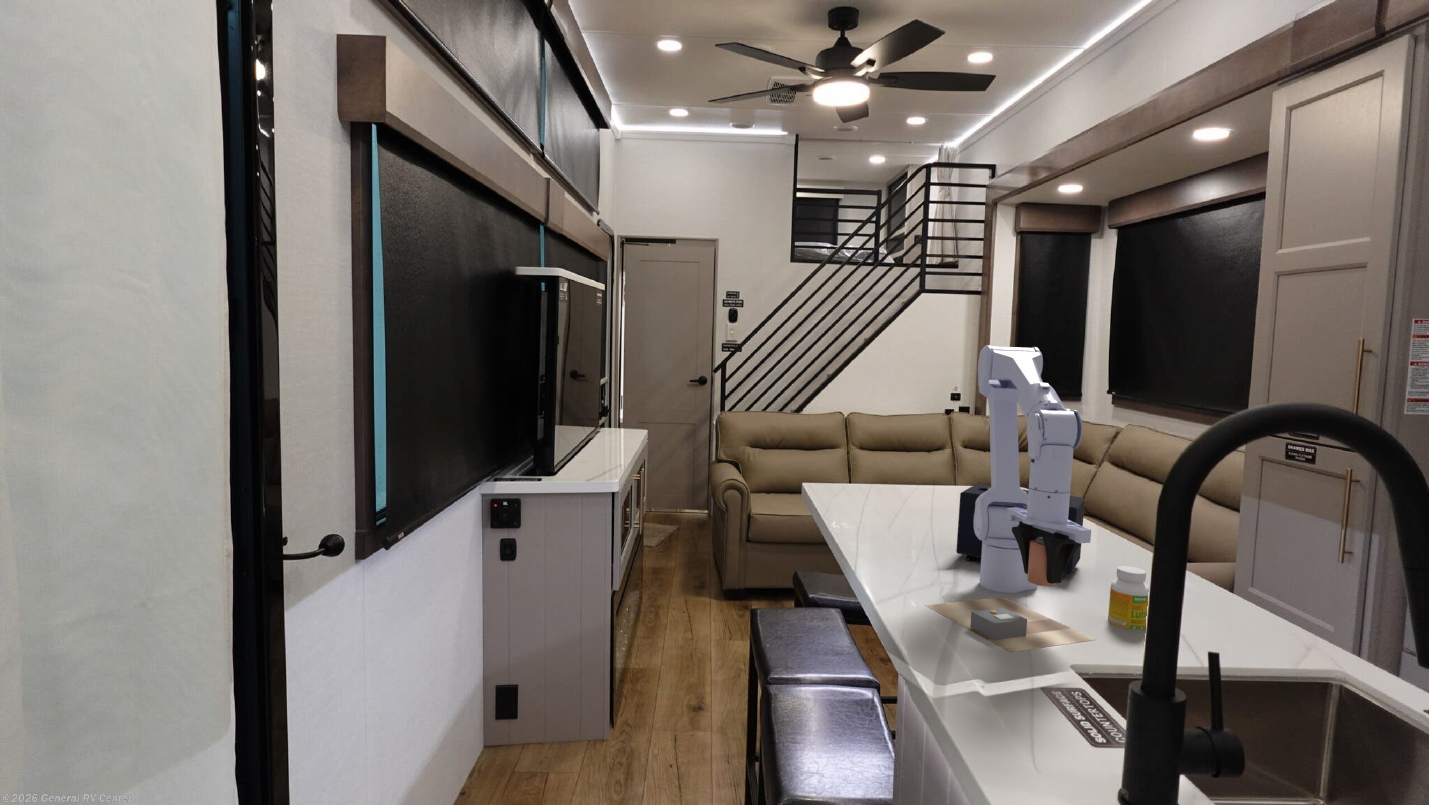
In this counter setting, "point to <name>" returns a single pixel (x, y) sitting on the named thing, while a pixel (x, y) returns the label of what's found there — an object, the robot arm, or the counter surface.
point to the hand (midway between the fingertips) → (1042, 577)
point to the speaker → (966, 533)
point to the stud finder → (998, 623)
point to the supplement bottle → (1129, 598)
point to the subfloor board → (1038, 626)
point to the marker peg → (1038, 563)
